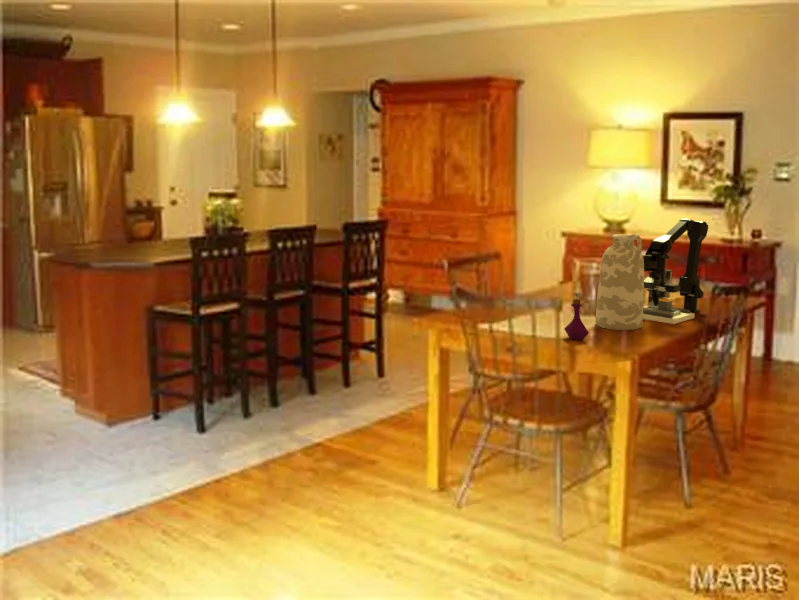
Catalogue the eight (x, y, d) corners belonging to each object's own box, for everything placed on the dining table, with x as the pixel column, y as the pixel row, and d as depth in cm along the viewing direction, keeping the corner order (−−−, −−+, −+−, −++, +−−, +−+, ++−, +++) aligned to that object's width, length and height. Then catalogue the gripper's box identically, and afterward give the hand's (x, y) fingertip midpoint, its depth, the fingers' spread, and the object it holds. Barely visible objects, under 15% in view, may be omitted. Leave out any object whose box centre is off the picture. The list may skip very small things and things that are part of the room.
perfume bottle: (563, 336, 350) (566, 290, 347) (582, 336, 351) (585, 290, 348) (568, 341, 343) (571, 294, 340) (588, 341, 344) (591, 294, 340)
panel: (647, 310, 404) (648, 302, 403) (694, 318, 389) (694, 310, 388) (626, 315, 391) (626, 307, 391) (673, 324, 376) (674, 315, 375)
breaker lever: (662, 311, 391) (663, 297, 390) (671, 312, 388) (672, 298, 387) (657, 312, 388) (658, 298, 387) (666, 313, 385) (667, 299, 384)
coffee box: (647, 304, 417) (649, 269, 414) (649, 302, 423) (651, 267, 420) (668, 306, 414) (670, 271, 411) (669, 303, 420) (672, 269, 417)
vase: (586, 322, 376) (591, 230, 369) (623, 319, 384) (629, 228, 377) (616, 333, 358) (622, 236, 351) (654, 329, 365) (661, 234, 358)
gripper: (628, 269, 389) (626, 305, 392) (668, 274, 376) (666, 311, 379) (642, 266, 396) (640, 301, 399) (682, 271, 384) (679, 308, 387)
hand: (655, 305), depth 391 cm, fingers closed
